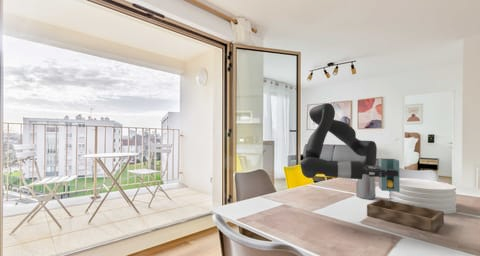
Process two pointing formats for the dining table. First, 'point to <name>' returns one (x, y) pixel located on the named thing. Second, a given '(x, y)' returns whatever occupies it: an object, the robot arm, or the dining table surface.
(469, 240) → the dining table surface
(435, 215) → the tray
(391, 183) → the ball
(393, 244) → the dining table surface
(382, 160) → the teal open box
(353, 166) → the robot arm
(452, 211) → the plate stack
